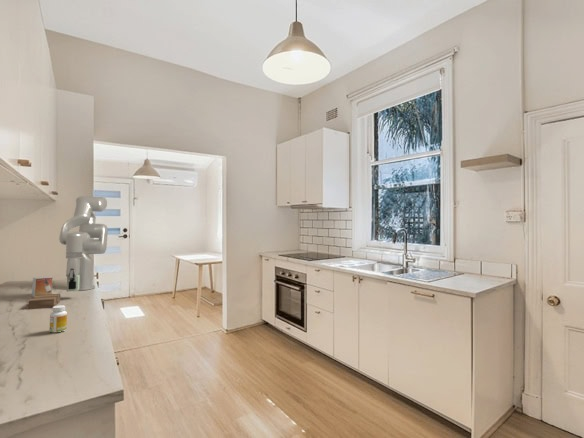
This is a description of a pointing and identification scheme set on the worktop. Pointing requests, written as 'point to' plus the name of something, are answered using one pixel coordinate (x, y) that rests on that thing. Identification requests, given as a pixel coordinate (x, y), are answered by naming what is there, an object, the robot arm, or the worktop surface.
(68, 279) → the sage block
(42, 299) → the walnut base
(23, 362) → the worktop surface
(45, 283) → the small box
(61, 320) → the supplement bottle
